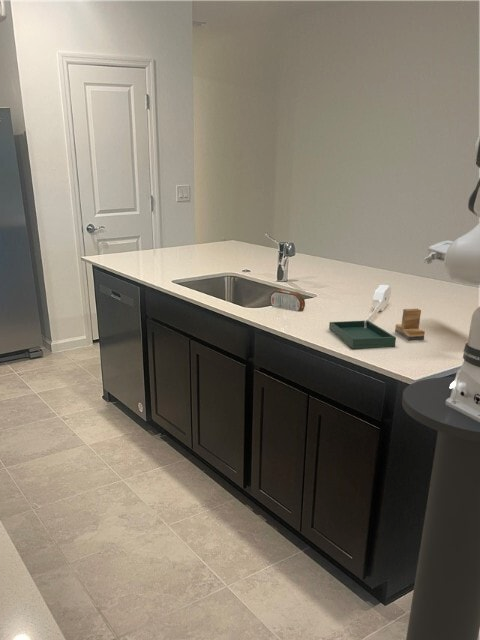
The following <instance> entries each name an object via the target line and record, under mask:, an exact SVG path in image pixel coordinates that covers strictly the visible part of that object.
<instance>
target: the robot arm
mask: <svg viewBox="0 0 480 640" xmlns="http://www.w3.org/2000/svg"><path fill="white" fill-rule="evenodd" d="M473 157H474V161H475V165H476V166H477V167H478V169H480V134H479V135H478V137H477V139H476V141H475V143H474V147H473ZM467 208H468V211H470V212H472V214H474V215H475V216H476V217H478V218H479V219H480V178H478V181H477V184H476V186H475V188H474V189H473V191H472V193H471V194H470V196H469V198H468V203H467ZM427 253H428V256H426V257H424V258H423V263H424V264H427V265H429V264H431V263H433V260H437V261H440V262H442V263H443V264H444V270H445V273H446V274H447V276H448V277H449V279H451V280H452V281H455V282H459V283H463V284H467V285H472V286H480V221H479V222H478V223H477V224H476V225H475V226H474V227H473V228H472V229H471V230H469V231H468V232H466V233H465V234H463V235H461V236H459V237H458V238H456V239H455V240H449V239H448V240H442V241H440V242H437V243H434V244H432V245H430V246H429V247H428V249H427ZM462 353H463V354H462V359H463V361H462V363H461V366H460V367H459V369H458V370H457V371H456V374H455V376H454V377H455V381H454V382H453V383H452V384H451V385H450V388H452V387H453V389H452V392H451V396H450V398H448V399H447V400H446V402H445V405H447V406H449V407H451V408H453V409H455V410H457V411H459V412H460V413H462V414H464V415H466V416H468V417H470V418H472V419H474V420H476V421H478V422H480V306H478V307H477V308H475V310H474V311H473V313H472V314H471V319H470V324H469V332H468V336H467V342H466V343H465V345H464V348H463V352H462Z"/></svg>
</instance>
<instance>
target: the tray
mask: <svg viewBox="0 0 480 640" xmlns="http://www.w3.org/2000/svg"><path fill="white" fill-rule="evenodd" d="M328 323H329V325H328V330H329V331H331V332H332V334H334V335H335V336H336V337H337V338H339V339H340V340H341V341H342V342H343V343H344V344H346V345H347V346H348V347H349V348H351V349H371V348H372V349H373V348H395V347H396V341H397V337H396V336H395V335H393V334H392V333H390V332H388V331H387V330H385V329H383V328H381V327H380V326H379V325H377V324H375V323H374V322H372V321H371V322H370V321H367V327H366V328H365V329H364V323H365V320H347V321H329V322H328Z"/></svg>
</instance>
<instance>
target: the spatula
mask: <svg viewBox="0 0 480 640" xmlns="http://www.w3.org/2000/svg"><path fill="white" fill-rule="evenodd" d="M391 294H392V287H391V285H389V284H379V285H378V287H377V288H376V289H375V290H374V293H373V296H372V301H371V302H372V303H371V308H372V312H371V313H370V314H369V315H368V317H367V318H366V319H364V321H365V323H364V329H365V328H366V327H367V321H370V322H371V323H372V321H373V320H374V318H376V315H377V314H378V313H379V312H383V311H384V310H385V309H386V308H387V307H388V305H389V302H390V298H391Z"/></svg>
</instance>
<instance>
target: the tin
mask: <svg viewBox="0 0 480 640" xmlns="http://www.w3.org/2000/svg"><path fill="white" fill-rule="evenodd" d="M269 304H270V306H271V307H273V308H279V309H284V310H290V311H294V312H295V311H296V312H302V311H304V310H305V308H306V300H305V297H304V296H303V295H302V294H301V293H300V292H298V291H292V290H288V289H282V288H278V289H276V290H274V291H273V292H271V294H270V295H269Z"/></svg>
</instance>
